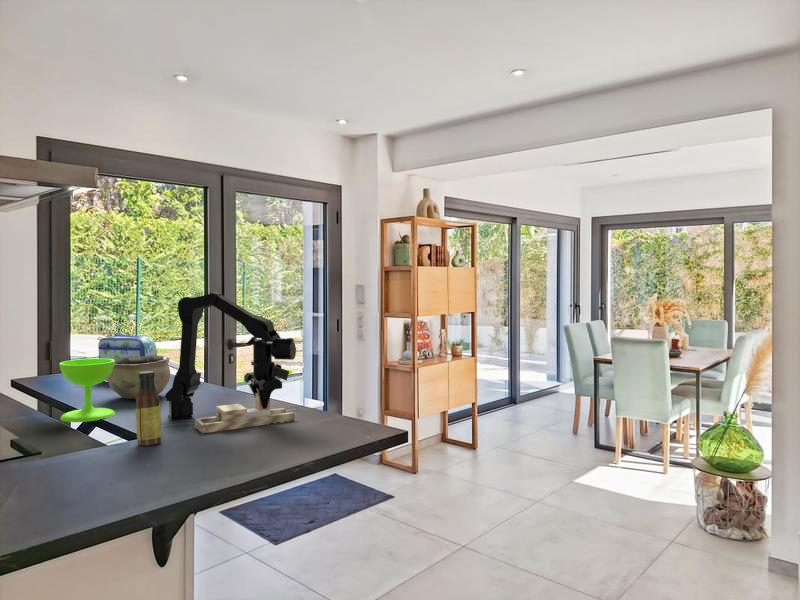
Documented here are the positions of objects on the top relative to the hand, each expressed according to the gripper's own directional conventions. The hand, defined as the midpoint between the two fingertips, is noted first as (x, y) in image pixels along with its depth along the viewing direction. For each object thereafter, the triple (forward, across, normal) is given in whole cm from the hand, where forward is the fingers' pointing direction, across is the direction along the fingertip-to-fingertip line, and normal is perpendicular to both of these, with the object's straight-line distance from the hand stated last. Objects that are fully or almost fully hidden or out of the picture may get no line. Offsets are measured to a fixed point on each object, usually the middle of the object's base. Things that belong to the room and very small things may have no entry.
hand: (262, 407), depth 183 cm
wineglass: (+5, +37, +46) cm, 59 cm away
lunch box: (+5, +97, +26) cm, 101 cm away
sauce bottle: (+5, -7, +35) cm, 36 cm away
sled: (+3, 0, +5) cm, 6 cm away
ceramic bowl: (+5, +59, +27) cm, 65 cm away
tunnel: (+4, 0, +5) cm, 7 cm away
